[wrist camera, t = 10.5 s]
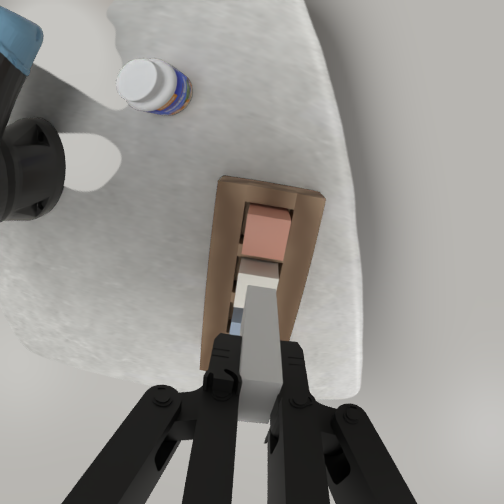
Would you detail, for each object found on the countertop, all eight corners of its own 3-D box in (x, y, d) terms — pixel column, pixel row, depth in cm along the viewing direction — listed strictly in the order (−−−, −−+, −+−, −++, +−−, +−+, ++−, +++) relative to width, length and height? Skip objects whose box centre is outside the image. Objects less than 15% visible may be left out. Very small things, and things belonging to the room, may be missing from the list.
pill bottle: (182, 121, 30) (150, 117, 21) (142, 108, 29) (100, 102, 20) (201, 78, 28) (176, 58, 19) (160, 66, 27) (123, 46, 18)
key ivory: (237, 283, 35) (233, 306, 30) (242, 253, 33) (238, 272, 29) (271, 289, 35) (271, 312, 30) (277, 258, 33) (279, 279, 29)
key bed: (204, 351, 42) (199, 369, 39) (223, 175, 32) (218, 180, 29) (276, 362, 42) (276, 381, 39) (319, 191, 32) (325, 199, 29)
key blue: (231, 323, 37) (227, 349, 32) (235, 298, 35) (231, 321, 31) (262, 328, 37) (261, 354, 32) (267, 303, 36) (267, 327, 31)
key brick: (244, 236, 32) (241, 254, 28) (250, 201, 31) (247, 213, 26) (280, 242, 32) (282, 260, 28) (287, 207, 31) (291, 220, 26)
